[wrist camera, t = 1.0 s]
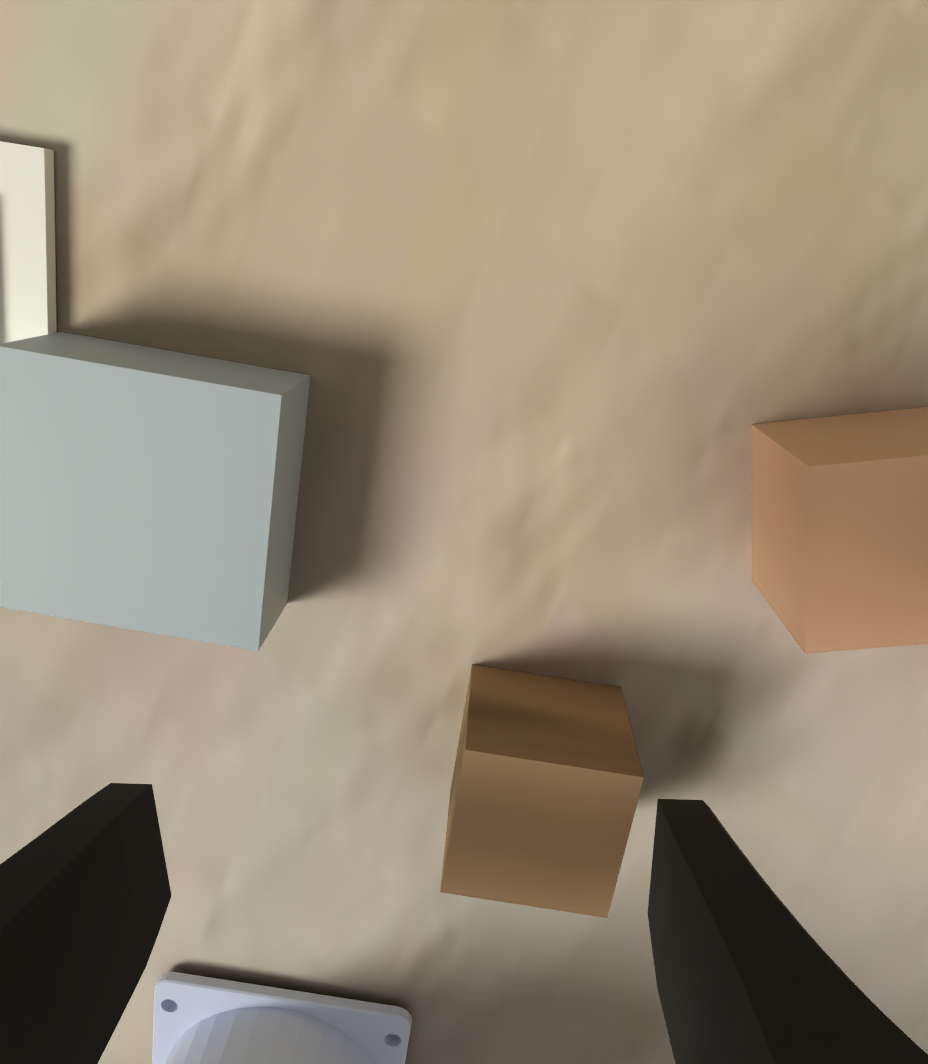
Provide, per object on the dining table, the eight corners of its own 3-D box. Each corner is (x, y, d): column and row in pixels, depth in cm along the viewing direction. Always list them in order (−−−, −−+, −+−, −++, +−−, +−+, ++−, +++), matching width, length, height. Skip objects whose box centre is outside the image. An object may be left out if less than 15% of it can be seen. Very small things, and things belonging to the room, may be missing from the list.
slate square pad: (290, 598, 22) (258, 650, 19) (65, 560, 22) (0, 607, 19) (313, 373, 20) (281, 395, 17) (66, 330, 20) (-6, 345, 17)
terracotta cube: (915, 565, 21) (1006, 637, 17) (751, 579, 21) (804, 653, 17) (926, 406, 19) (1027, 445, 16) (750, 423, 20) (808, 466, 16)
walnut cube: (590, 808, 23) (607, 917, 20) (451, 787, 23) (440, 892, 20) (620, 686, 22) (644, 777, 18) (471, 663, 22) (464, 749, 18)
